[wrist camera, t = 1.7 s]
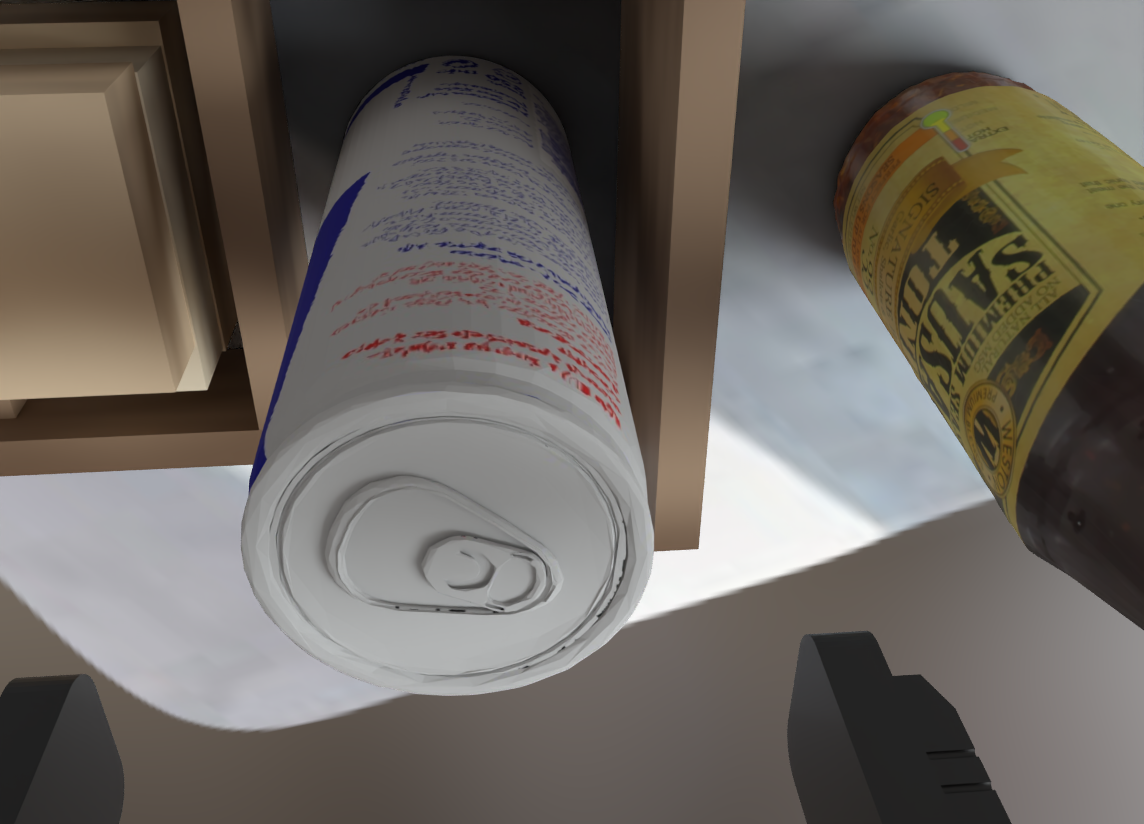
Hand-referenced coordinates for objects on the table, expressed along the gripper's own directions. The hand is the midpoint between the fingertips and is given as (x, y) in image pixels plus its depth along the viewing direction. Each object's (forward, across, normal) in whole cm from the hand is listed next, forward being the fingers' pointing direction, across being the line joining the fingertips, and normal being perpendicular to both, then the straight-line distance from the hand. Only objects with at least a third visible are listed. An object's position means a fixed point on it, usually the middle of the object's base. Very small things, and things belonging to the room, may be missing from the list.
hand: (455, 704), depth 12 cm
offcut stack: (+17, +8, 0) cm, 19 cm away
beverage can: (+18, 0, 0) cm, 18 cm away
